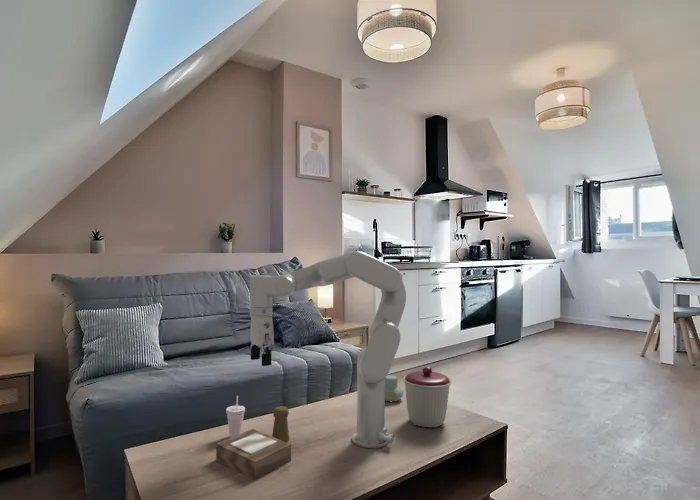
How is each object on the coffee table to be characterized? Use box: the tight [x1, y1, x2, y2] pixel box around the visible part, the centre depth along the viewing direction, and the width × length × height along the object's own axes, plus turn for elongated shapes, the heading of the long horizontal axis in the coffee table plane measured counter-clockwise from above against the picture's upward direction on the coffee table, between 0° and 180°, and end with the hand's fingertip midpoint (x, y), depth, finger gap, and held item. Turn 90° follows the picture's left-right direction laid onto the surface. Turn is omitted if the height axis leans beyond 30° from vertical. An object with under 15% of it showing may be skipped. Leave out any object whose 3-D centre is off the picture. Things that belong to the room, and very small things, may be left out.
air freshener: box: [385, 374, 404, 402], centre depth 184 cm, size 11×8×10 cm
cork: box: [271, 405, 290, 443], centre depth 142 cm, size 6×6×11 cm
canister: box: [402, 366, 452, 429], centre depth 159 cm, size 18×18×21 cm
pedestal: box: [215, 428, 292, 481], centre depth 128 cm, size 18×14×5 cm
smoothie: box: [225, 395, 246, 438], centre depth 144 cm, size 6×6×14 cm
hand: (260, 362), depth 142 cm, fingers open, 9 cm apart
